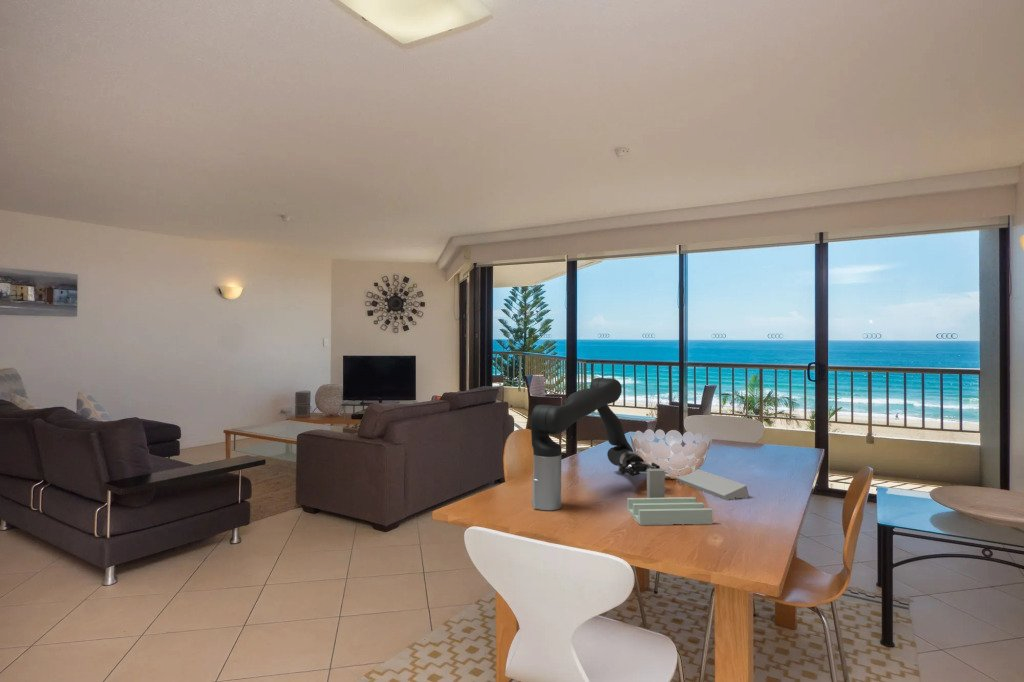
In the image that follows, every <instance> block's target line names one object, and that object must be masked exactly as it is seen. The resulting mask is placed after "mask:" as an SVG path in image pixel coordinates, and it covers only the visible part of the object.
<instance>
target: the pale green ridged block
mask: <svg viewBox="0 0 1024 682" xmlns="http://www.w3.org/2000/svg"><path fill="white" fill-rule="evenodd" d="M626 500H627V503H626V504H627V505H626V506H627V507H626V512H627V511H628V512H629V513H630V514H631V515H632V516H633V517H634V518H633V517H632V516H631V515H630V514H629V513H628V512H627V513H628V514H629V515H630V516H631V517H632V518H633V519H634V520H635V521H636V523H637V522H638V523H639V524H640V525H639V524H638V523H637V524H638V525H639V526H674V525H673V524H682V526H684V524H693V525H713V509H712V508H710V507H709V508H706V507H705V504H704V503H703V502H697V498H696V497H695V496H694V497H693V496H690V497H689V496H687V497H684V496H681V497H676V496H675V497H665V498H647V497H627V499H626Z"/></svg>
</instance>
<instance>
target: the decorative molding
mask: <svg viewBox="0 0 1024 682" xmlns="http://www.w3.org/2000/svg"><path fill="white" fill-rule="evenodd" d="M696 469H697V470H696V471H694V472H692V473H690V474H687V475H684V476H680V477H675V479H676V480H677V481H679V482H678V483H680V482H681V483H680V484H682V483H683V485H685V484H686V485H685V486H688V485H689V487H690V486H691V488H693V487H694V488H693V489H695V488H696V489H695V490H698V489H699V490H698V491H700V492H703V491H704V492H703V493H706V494H708V493H709V494H708V495H711V494H712V496H713V495H714V496H713V497H716V496H717V497H716V498H719V499H721V498H722V499H721V500H724V501H732V500H731V499H735V500H737V499H743V498H744V499H749V498H750V493H749V490H748V486H747V484H744V483H741V482H737V481H734V480H731V479H729V478H725V477H723V476H720V475H716V474H713V473H710V472H707V471H705V470H701V469H699V468H696ZM677 481H676V482H677ZM748 497H749V498H748ZM729 499H730V500H729Z"/></svg>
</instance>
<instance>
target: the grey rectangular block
mask: <svg viewBox="0 0 1024 682" xmlns="http://www.w3.org/2000/svg"><path fill="white" fill-rule="evenodd" d="M646 471H647V474H646V498H666V495H665V494H666V493H665V489H666V488H665V487H666V486H665V484H666V483H665V482H666V481H665V480H666V479H665V477H666V474H665V473H666V472H665V470H664V469H663V468H660V469H647V470H646Z"/></svg>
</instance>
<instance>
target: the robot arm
mask: <svg viewBox="0 0 1024 682" xmlns="http://www.w3.org/2000/svg"><path fill="white" fill-rule="evenodd" d="M622 391H623V387H622V384H621V382H620V381H619V380H617V379H615V378H613V377H612V378H611V377H610V378H609V377H596V378H593V379H592V380H591V382H590V385H589V387H588V388H582V389H579V390H577V391H575V392H573V393H571V394H569V395H568V397H566V400H565V402H564V405H552V404H551V405H549V404H537V405H535V407H534V408H533V409H532V411H531V415H530V431H531V432H530V435H531V436H530V437H531V438H530V439H531V447H532V449H533V451H532V452H533V457H532V458H533V459H532V461H533V463H532V464H533V465H532V467H533V472H532V489H531V490H532V493H531V496H532V500H531V501H532V504H531V505H532V507H533V509H534V510H541V511H556V510H559V509H561V508H562V447H561V445H560V444H559V443H558V442H556V441H554V440H553V439H552V437H550V435H560V434H562V433H563V432H565V431H566V430H567V429H568V428H570V427H571V426H572V425H574V423H575V422H578V421H579V420H581V419H582V418H585V417H586V416H589V415H590V414H592V413H594V412H595V411H597V413H598V415H599V416H600V419H601V421H602V424H603V427H604V429H605V434H606V437H607V441H608V443H609V444H610V445H611V446H612V447H610V448H609V449H608V450H607V452H606V453H607V455H606V456H607V459H608V460H609V462H610V463H611V464H612V465H614V466H617V467H618V472H619V473H620V474H622V475H624V474H626V475H629V476H630V477H634V476H639V475H640V474H646V475H647V469H661V466H660V465H658V464H657V463H655V462H652V463H648V462H647V463H646V462H645V460H643V458H642V456H640V455H638V454H637V453H636V452H634V449H633V448H632V446H631V445H630V443H629V442H628V439H627V438H626V435H625V431H624V426H623V424H622V422H621V420H620V419H619V417H618V416H617V415H616V414H615V412H614V411H613V410H612V409H611V408H610V407H609V405H610V404H613V403H615V402H617V401H618V400H619V399H620V398H621V395H622Z"/></svg>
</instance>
